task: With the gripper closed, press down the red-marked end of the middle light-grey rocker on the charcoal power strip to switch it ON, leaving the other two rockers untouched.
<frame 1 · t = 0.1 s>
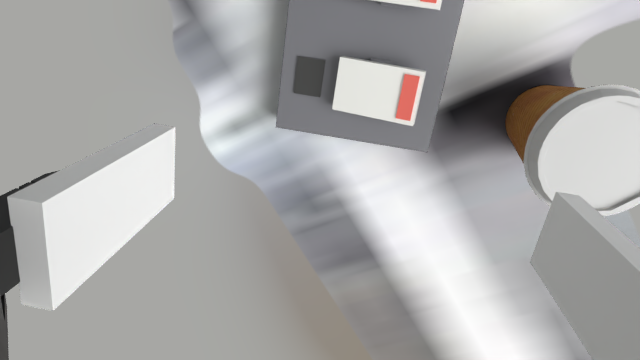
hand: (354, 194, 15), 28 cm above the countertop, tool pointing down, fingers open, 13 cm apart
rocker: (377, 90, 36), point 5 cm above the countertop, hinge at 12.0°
disposable coffee cup: (540, 118, 41), on the countertop
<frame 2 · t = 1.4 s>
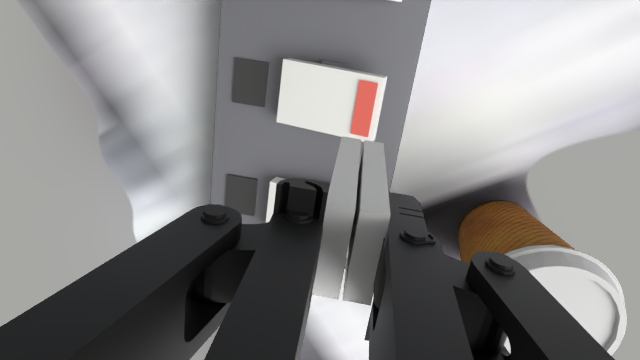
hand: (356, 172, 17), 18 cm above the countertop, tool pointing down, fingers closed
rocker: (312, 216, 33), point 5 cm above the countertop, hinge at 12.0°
power strip: (316, 85, 35), on the countertop
disposable coffee cup: (495, 233, 38), on the countertop
rocker middle: (329, 100, 30), point 5 cm above the countertop, hinge at 12.0°
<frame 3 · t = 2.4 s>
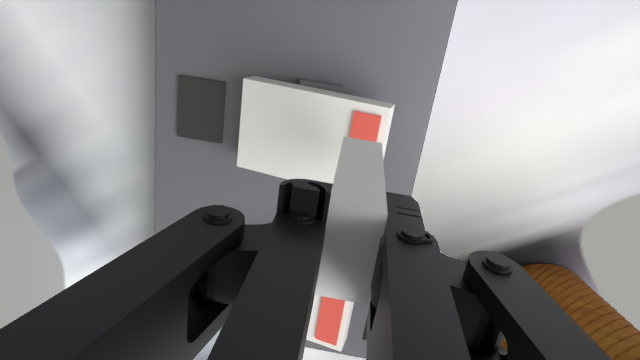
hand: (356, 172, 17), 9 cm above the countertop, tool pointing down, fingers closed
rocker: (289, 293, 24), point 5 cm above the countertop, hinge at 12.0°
power strip: (296, 110, 25), on the countertop
disposable coffee cup: (535, 303, 28), on the countertop
rocker middle: (311, 137, 21), point 5 cm above the countertop, hinge at 12.0°
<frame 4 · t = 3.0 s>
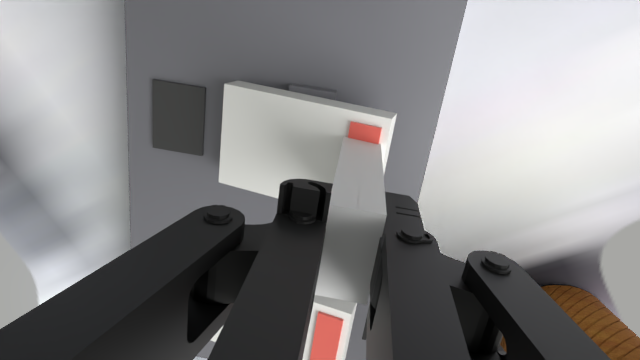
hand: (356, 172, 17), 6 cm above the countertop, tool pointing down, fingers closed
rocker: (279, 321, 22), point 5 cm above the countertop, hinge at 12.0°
power strip: (287, 118, 23), on the countertop
disposable coffee cup: (549, 326, 26), on the countertop
rocker middle: (301, 150, 18), point 5 cm above the countertop, hinge at 11.9°, touching gripper
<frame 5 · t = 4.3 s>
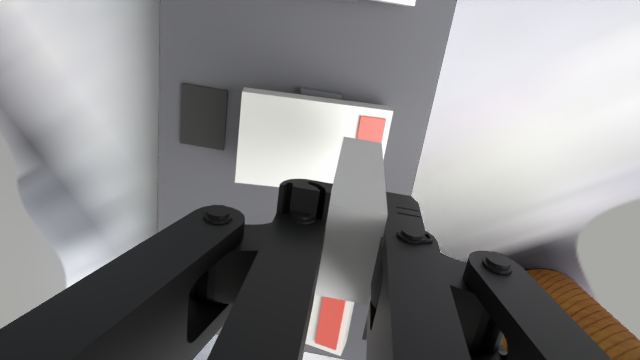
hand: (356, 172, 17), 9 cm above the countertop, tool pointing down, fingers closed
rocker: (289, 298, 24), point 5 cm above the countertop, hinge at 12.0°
power strip: (297, 118, 26), on the countertop
disposable coffee cup: (532, 308, 29), on the countertop
rocker middle: (312, 144, 21), point 5 cm above the countertop, hinge at -10.7°
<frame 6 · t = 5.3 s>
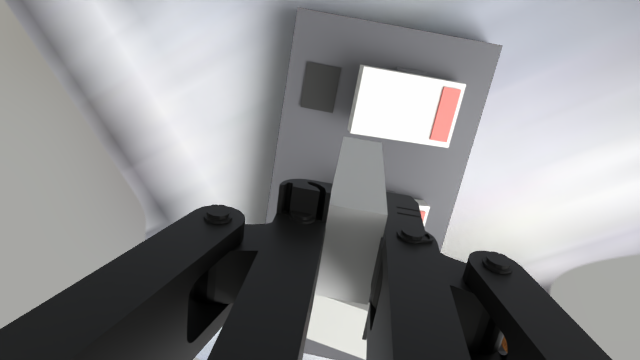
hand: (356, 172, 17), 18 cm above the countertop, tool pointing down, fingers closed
power strip: (357, 199, 37), on the countertop
disposable coffee cup: (518, 336, 40), on the countertop
rocker middle: (376, 226, 32), point 5 cm above the countertop, hinge at -17.6°, touching power strip
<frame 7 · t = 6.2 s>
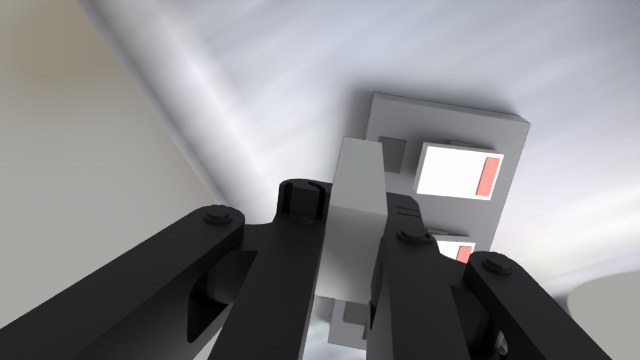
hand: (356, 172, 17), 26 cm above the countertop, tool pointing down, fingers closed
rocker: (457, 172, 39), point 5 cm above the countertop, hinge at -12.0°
power strip: (413, 232, 47), on the countertop
rocker middle: (433, 258, 42), point 5 cm above the countertop, hinge at -14.5°
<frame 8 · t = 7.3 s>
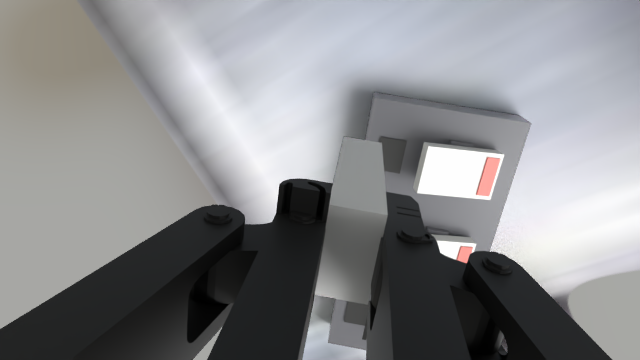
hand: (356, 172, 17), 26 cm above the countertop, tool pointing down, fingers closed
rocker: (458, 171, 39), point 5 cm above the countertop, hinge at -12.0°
power strip: (414, 232, 47), on the countertop
rocker middle: (434, 258, 42), point 5 cm above the countertop, hinge at -12.4°
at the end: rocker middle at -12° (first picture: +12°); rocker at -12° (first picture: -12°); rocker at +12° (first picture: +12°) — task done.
